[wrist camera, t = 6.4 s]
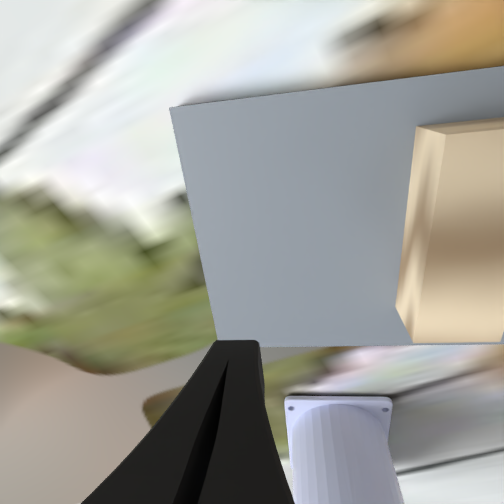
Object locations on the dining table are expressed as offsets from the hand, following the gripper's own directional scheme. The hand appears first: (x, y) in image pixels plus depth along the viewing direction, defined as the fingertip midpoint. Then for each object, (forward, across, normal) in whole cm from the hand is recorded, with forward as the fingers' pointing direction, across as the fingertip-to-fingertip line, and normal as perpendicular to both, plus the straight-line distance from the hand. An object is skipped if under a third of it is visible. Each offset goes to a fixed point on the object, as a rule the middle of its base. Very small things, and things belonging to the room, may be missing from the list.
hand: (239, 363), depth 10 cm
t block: (+9, -13, 0) cm, 16 cm away
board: (+10, -9, 0) cm, 14 cm away
